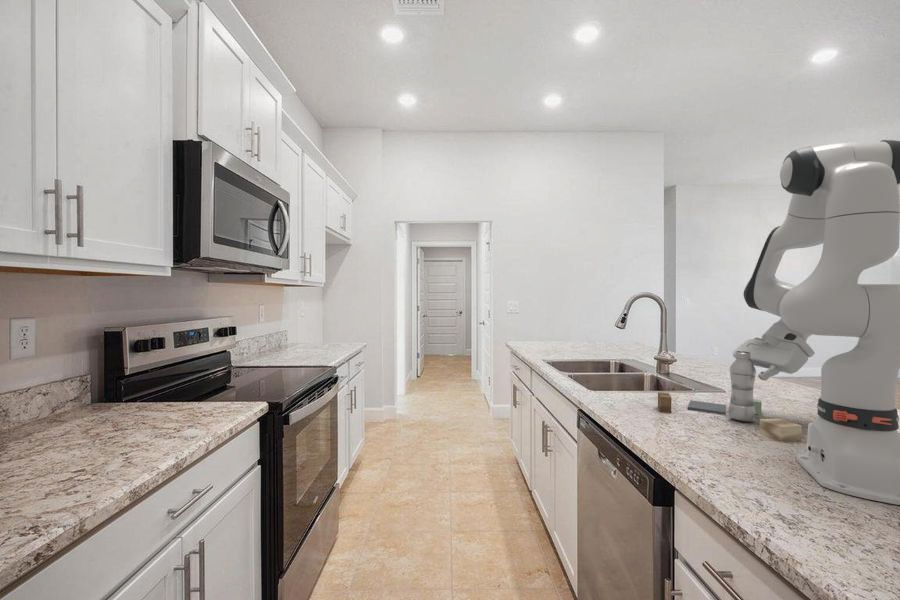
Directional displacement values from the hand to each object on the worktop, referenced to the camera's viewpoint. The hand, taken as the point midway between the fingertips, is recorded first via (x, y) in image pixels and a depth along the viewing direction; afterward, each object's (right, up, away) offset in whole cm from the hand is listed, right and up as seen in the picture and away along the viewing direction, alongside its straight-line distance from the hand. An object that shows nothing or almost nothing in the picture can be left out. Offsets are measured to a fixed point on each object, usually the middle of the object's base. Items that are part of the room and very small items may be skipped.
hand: (748, 375), depth 121 cm
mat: (-4, -13, +13) cm, 19 cm away
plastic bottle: (-2, -13, 0) cm, 14 cm away
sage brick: (+7, -13, +8) cm, 17 cm away
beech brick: (-1, -14, -13) cm, 19 cm away
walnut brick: (-19, -13, +11) cm, 25 cm away
